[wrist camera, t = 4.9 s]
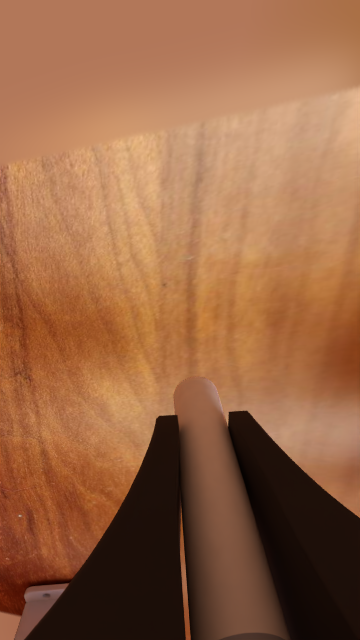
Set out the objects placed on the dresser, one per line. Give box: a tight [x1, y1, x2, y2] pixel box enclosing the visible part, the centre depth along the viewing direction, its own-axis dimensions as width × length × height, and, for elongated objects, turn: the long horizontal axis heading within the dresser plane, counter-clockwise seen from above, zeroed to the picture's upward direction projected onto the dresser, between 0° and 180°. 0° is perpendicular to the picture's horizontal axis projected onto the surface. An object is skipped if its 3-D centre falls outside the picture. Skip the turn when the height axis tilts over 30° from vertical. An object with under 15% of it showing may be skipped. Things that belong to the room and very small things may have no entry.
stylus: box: [174, 377, 291, 640], centre depth 9 cm, size 2×2×9 cm
